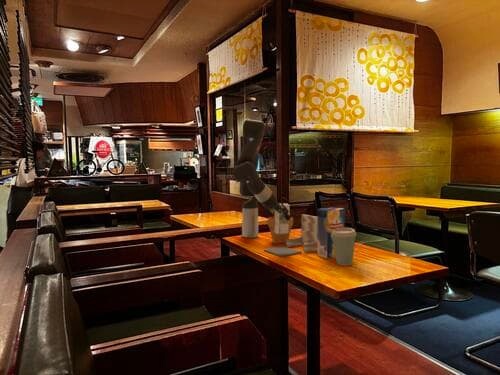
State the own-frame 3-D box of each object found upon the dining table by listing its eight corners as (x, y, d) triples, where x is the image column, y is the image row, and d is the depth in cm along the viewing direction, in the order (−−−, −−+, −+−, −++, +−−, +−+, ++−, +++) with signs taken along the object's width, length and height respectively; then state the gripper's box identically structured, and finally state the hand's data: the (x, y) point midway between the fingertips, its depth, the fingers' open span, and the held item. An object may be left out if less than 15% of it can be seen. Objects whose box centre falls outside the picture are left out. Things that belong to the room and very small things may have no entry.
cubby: (286, 246, 185) (286, 216, 184) (303, 243, 192) (302, 214, 190) (305, 252, 173) (305, 220, 172) (322, 248, 180) (322, 217, 179)
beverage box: (344, 254, 168) (344, 208, 166) (327, 258, 162) (327, 210, 160) (334, 251, 174) (334, 207, 172) (317, 255, 168) (317, 209, 166)
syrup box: (284, 231, 177) (284, 203, 177) (289, 234, 172) (289, 204, 171) (274, 232, 175) (273, 203, 175) (279, 235, 170) (279, 204, 169)
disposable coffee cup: (352, 268, 146) (352, 232, 145) (327, 264, 152) (327, 230, 151) (359, 262, 155) (359, 228, 154) (335, 259, 161) (335, 226, 160)
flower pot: (264, 239, 203) (264, 217, 202) (287, 237, 207) (287, 215, 206) (272, 245, 189) (272, 221, 188) (297, 243, 193) (297, 219, 192)
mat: (264, 251, 177) (264, 249, 177) (282, 247, 184) (282, 246, 184) (281, 257, 165) (281, 255, 165) (301, 253, 172) (301, 251, 172)
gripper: (278, 190, 162) (298, 214, 169) (260, 189, 174) (279, 210, 181) (269, 203, 160) (289, 226, 167) (251, 200, 171) (271, 222, 179)
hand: (284, 218), depth 174 cm, fingers closed on syrup box, 6 cm apart
